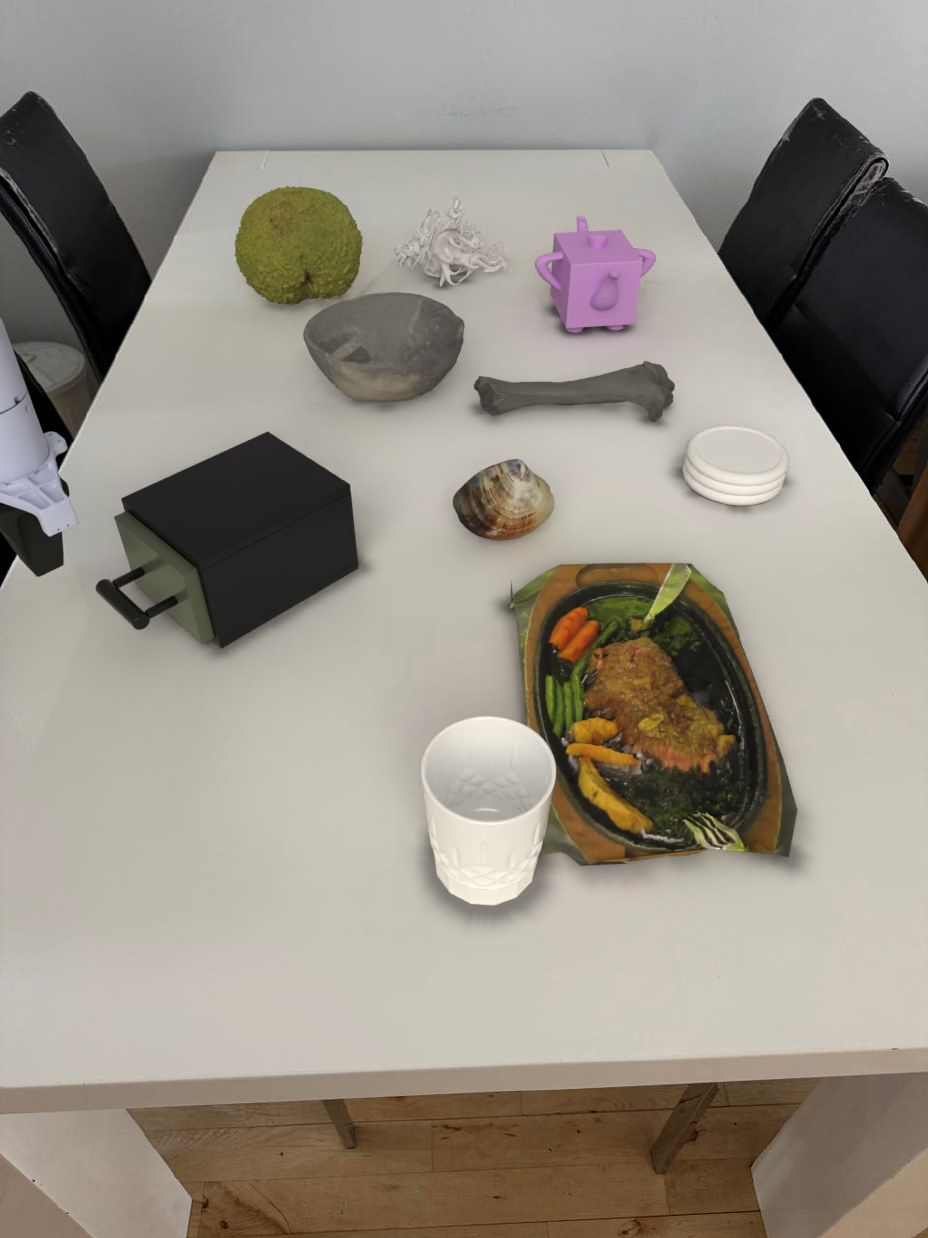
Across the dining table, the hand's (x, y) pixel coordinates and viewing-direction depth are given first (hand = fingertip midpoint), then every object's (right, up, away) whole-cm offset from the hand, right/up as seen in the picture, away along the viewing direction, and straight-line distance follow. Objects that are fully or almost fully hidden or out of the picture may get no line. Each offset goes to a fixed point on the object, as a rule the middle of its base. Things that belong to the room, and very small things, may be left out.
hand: (46, 566), depth 66 cm
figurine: (+29, +44, +63) cm, 82 cm away
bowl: (+21, +23, +40) cm, 51 cm away
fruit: (+9, +40, +58) cm, 71 cm away
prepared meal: (+43, -11, +4) cm, 45 cm away
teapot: (+47, +35, +53) cm, 79 cm away
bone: (+42, +19, +36) cm, 59 cm away
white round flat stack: (+57, +10, +27) cm, 64 cm away
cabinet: (+11, 0, +15) cm, 19 cm away
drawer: (+9, -1, +13) cm, 15 cm away
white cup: (+32, -20, -5) cm, 38 cm away
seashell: (+34, +4, +20) cm, 39 cm away
